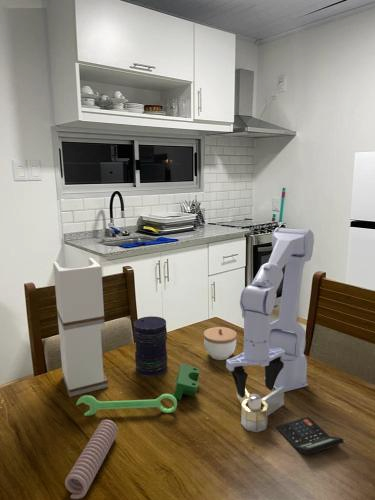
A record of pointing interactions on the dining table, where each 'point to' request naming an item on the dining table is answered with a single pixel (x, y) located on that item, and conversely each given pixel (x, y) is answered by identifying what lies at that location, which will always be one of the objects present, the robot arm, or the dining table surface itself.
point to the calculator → (307, 436)
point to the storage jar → (150, 345)
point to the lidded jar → (220, 342)
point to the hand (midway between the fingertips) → (255, 391)
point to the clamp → (186, 381)
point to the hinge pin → (254, 402)
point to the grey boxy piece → (80, 326)
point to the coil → (91, 459)
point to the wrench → (125, 404)
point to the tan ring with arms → (259, 418)
